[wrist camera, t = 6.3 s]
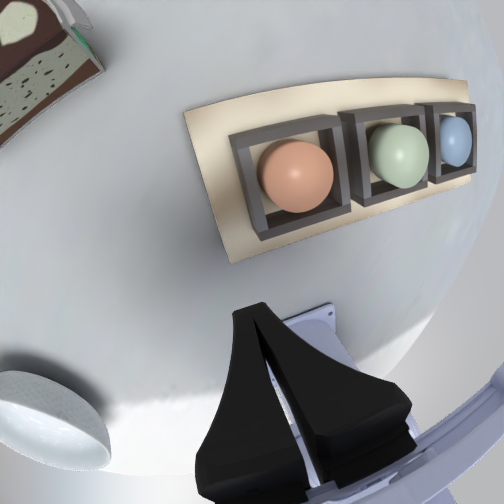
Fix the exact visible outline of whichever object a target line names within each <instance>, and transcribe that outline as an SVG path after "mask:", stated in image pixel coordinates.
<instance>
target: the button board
mask: <svg viewBox="0 0 504 504" xmlns="http://www.w3.org/2000/svg"><path fill="white" fill-rule="evenodd" d="M183 114H184V118H185V121H186V124H187V128H188V131H189V135H190V138H191V141H192V145H193V148H194V152H195V155H196V158H197V162H198V165H199V168H200V171H201V175H202V178H203V181H204V185H205V188H206V191H207V194H208V197H209V201H210V204H211V207H212V210H213V213H214V217H215V220H216V223H217V226H218V229H219V232H220V235H221V239H222V242H223V245H224V248H225V251H226V253H227V256H228V259H229V262H230V264H232V263H235V262H238V261H241V260H244V259H247V258H250V257H253V256H256V255H259V254H262V253H265V252H268V251H271V250H274V249H277V248H280V247H283V246H286V245H289V244H291V243H294V242H297V241H300V240H303V239H306V238H309V237H312V236H315V235H318V234H321V233H324V232H327V231H330V230H333V229H336V228H339V227H342V226H344V225H347V224H350V223H353V222H356V221H359V220H362V219H365V218H368V217H371V216H374V215H377V214H380V213H382V212H385V211H388V210H391V209H394V208H397V207H400V206H403V205H406V204H409V203H412V202H414V201H417V200H420V199H423V198H426V197H429V196H432V195H435V194H438V193H441V192H443V191H446V190H449V189H452V188H455V187H458V186H461V185H464V184H466V183H469V182H470V180H471V174H472V173H475V172H476V166H477V126H476V108H475V105H474V104H469V93H468V84H467V81H464V80H454V79H440V78H409V77H399V78H367V79H352V80H341V81H331V82H322V83H314V84H307V85H300V86H293V87H287V88H281V89H276V90H270V91H265V92H260V93H255V94H251V95H246V96H242V97H238V98H233V99H229V100H225V101H221V102H218V103H214V104H210V105H207V106H203V107H200V108H196V109H193V110H189V111H186V112H183ZM440 114H445V115H450V116H455V117H459V118H462V119H464V120H465V121H466V122H467V124H468V125H469V128H470V131H471V136H472V146H471V151H470V154H469V157H468V159H467V160H466V162H465V163H464V164H463V165H461V166H459V167H456V166H453V165H450V164H447V163H445V162H442V161H441V140H440V122H439V115H440ZM385 123H396V124H402V125H407V126H412V127H415V128H417V129H418V130H419V131H421V133H422V134H423V135H424V137H425V139H426V141H427V144H428V148H429V161H428V166H427V169H426V172H425V174H424V176H423V177H422V179H421V180H420V181H419V182H418V183H417V184H416V185H414V186H412V187H410V188H399V187H397V186H395V185H393V184H390V183H388V182H386V181H384V180H382V179H380V178H378V177H377V176H376V175H375V174H374V173H373V172H372V170H371V168H370V166H369V159H368V149H367V148H368V143H369V140H370V137H371V136H372V134H373V132H374V131H375V130H376V129H377V128H378V127H379V126H381V125H382V124H385ZM283 139H297V140H301V141H304V142H307V143H311V144H314V145H316V146H318V147H319V148H321V149H322V150H323V151H324V152H325V153H326V154H327V156H328V157H329V159H330V161H331V163H332V167H333V183H332V186H331V189H330V191H329V193H328V195H327V196H326V198H325V199H324V200H323V201H322V202H321V203H320V204H319V205H318V206H316V207H315V208H313V209H311V210H309V211H306V212H300V213H294V212H289V211H286V210H283V209H282V208H280V207H278V206H277V205H276V204H275V203H274V202H273V201H272V200H271V199H270V198H269V197H268V196H267V195H266V194H265V193H264V192H263V190H262V189H261V187H260V185H259V182H258V177H257V169H258V164H259V161H260V158H261V156H262V155H263V153H264V152H265V150H266V149H267V148H268V147H270V146H271V145H272V144H274V143H275V142H277V141H280V140H283Z"/></svg>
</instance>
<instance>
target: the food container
mask: <svg viewBox="0 0 504 504" xmlns="http://www.w3.org/2000/svg"><path fill="white" fill-rule="evenodd" d="M74 26H76V27H80V28H84V29H88V30H91V29H92V28H93V26H92V24H91V23H90V21H89V19H88V17H87V15H86V13H85V12H84V11H83V9H82V8H81V7H80V6H79V5H78V4H77V3H76V1H75V0H0V148H2V147H3V146H4V145H5V144H6V143H7V142H8V141H10V140H11V139H12V138H13V137H14V136H15V135H16V134H17V133H19V132H20V131H21V130H22V129H23V128H24V127H26V126H27V125H28V124H29V123H30V122H32V121H33V120H34V119H35V118H37V117H38V116H39V115H40V114H42V113H43V112H44V111H46V110H47V109H48V108H50V107H51V106H52V105H54V104H55V103H57V102H58V101H59V100H61V99H62V98H64V97H65V96H67V95H68V94H69V93H71V92H72V91H74V90H75V89H77V88H79V87H80V86H82V85H83V84H85V83H86V82H88V81H90V80H91V79H93V78H95V77H96V76H98V75H100V74H101V73H103V72H105V69H104V68H103V66H102V64H101V62H100V60H99V59H98V57H97V56H96V55H95V53H94V52H93V51H92V49H91V48H90V47H89V46H88V44H87V43H86V42H85V40H84V39H83V38H82V37H81V35H80V34H79V33H78V31H77V30H76V29H75V27H74Z"/></svg>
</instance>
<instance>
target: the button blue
mask: <svg viewBox="0 0 504 504" xmlns="http://www.w3.org/2000/svg"><path fill="white" fill-rule="evenodd" d="M439 122H440V140H441V161H442V162H445V163H447V164H450V165H453V166H456V167H459V166H461V165H463V164H464V163H465V162H466V160H467V159H468V157H469V154H470V151H471V146H472V136H471V131H470V128H469V125H468V124H467V122H466V121H465V120H464V119H462V118H459V117H455V116H450V115H445V114H440V115H439Z"/></svg>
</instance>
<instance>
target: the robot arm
mask: <svg viewBox="0 0 504 504" xmlns="http://www.w3.org/2000/svg"><path fill="white" fill-rule="evenodd" d="M329 312H330V313H329ZM232 316H233V344H232V354H231V360H230V366H229V372H228V376H227V381H226V384H225V388H224V392H223V395H222V398H221V401H220V404H219V407H218V410H217V412H216V415H215V417H214V419H213V422H212V424H211V427H210V429H209V431H208V433H207V435H206V437H205V439H204V441H203V443H202V444H201V446H200V448H199V450H198V452H197V454H196V460H195V478H196V484H197V489H198V493H199V495H201V496H202V497H204V498H206V499H208V500H211V501H213V502H215V504H457V503H456V501H455V500H454V498H453V496H452V495H451V493H450V491H449V490H448V488H447V487H448V486H449V485H450V484H451V483H453V482H454V481H456V480H457V479H458V478H459V477H460V476H461V475H463V474H464V473H465V472H466V471H467V470H469V469H470V468H471V467H472V466H473V465H474V464H476V463H477V462H478V461H479V460H480V459H481V458H482V457H483V456H484V455H485V454H486V453H487V452H488V451H489V450H490V449H491V448H492V447H493V446H494V445H495V444H496V443H497V442H498V441H499V440H500V439H501V438H502V437H503V436H504V363H503V364H502V365H501V366H500V367H499V368H498V369H497V370H496V371H495V373H494V374H493V376H492V377H491V379H490V381H489V382H488V383H487V384H486V385H485V386H484V387H483V388H482V389H480V390H479V391H478V392H477V393H476V394H474V395H473V396H472V397H471V398H470V399H468V400H467V401H466V402H465V403H464V404H462V405H461V406H460V407H459V408H457V409H456V410H455V411H453V412H452V413H451V414H449V415H448V416H447V417H445V418H444V419H443V420H441V421H440V422H438V423H437V424H436V425H434V426H433V427H431V428H430V429H428V430H427V431H425V432H424V433H422V434H421V433H420V431H419V428H418V426H417V423H416V421H415V419H414V418H413V416H412V414H411V412H410V411H411V407H412V403H411V401H410V399H409V398H408V397H407V395H406V394H405V393H404V392H403V391H402V390H401V389H400V388H399V387H398V386H397V385H396V384H395V383H393V382H389V381H385V380H382V379H379V378H376V377H373V376H370V375H367V374H365V373H362V372H360V371H359V369H358V368H357V366H356V365H355V363H354V362H353V360H352V359H351V357H350V355H349V354H348V352H347V351H346V349H345V348H344V346H343V345H342V343H341V342H340V340H339V339H338V337H337V336H336V322H335V307H334V305H333V304H327V305H325V306H322V307H320V308H317V309H315V310H312V311H310V312H307V313H304V314H302V315H299V316H297V317H294V318H291V319H289V320H286V321H283V322H282V321H281V320H280V319H279V318H278V317H277V316H276V315H275V314H274V313H273V312H272V311H271V309H270V308H269V307H268V306H267V304H266V303H264V302H260V303H257V304H254V305H251V306H248V307H245V308H242V309H239V310H236V311H234V312H233V313H232ZM275 386H277V387H278V390H279V392H280V395H281V397H282V400H283V402H284V405H285V407H286V410H287V412H288V414H289V417H290V419H291V422H292V424H291V425H289V423H288V421H287V418H286V416H285V414H284V411H283V409H282V406H281V404H280V402H279V399H278V397H277V394H276V392H275V389H274V387H275Z"/></svg>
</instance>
